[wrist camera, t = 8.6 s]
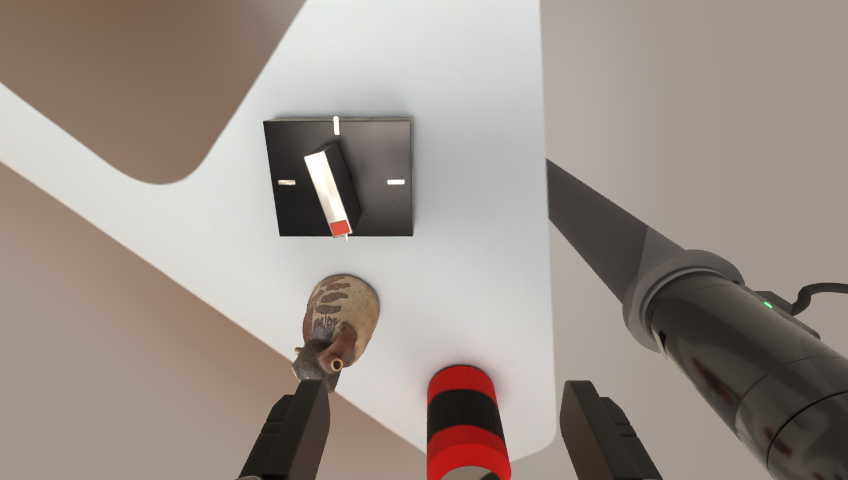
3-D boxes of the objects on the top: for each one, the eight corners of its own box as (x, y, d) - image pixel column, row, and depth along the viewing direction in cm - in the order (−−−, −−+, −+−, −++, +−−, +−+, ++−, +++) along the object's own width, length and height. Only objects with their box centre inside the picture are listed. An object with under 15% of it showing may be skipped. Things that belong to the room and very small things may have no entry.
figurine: (297, 297, 42) (249, 375, 31) (350, 260, 40) (319, 329, 29) (342, 344, 44) (312, 433, 33) (393, 311, 42) (380, 393, 31)
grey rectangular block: (319, 146, 33) (301, 157, 29) (337, 141, 33) (323, 151, 29) (344, 219, 36) (332, 239, 31) (362, 214, 35) (352, 234, 31)
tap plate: (412, 113, 35) (410, 116, 32) (414, 228, 39) (412, 240, 36) (275, 113, 35) (260, 116, 32) (290, 229, 39) (279, 241, 36)
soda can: (506, 398, 46) (530, 498, 35) (450, 425, 48) (456, 529, 37) (471, 352, 44) (485, 444, 33) (414, 383, 46) (409, 480, 35)
